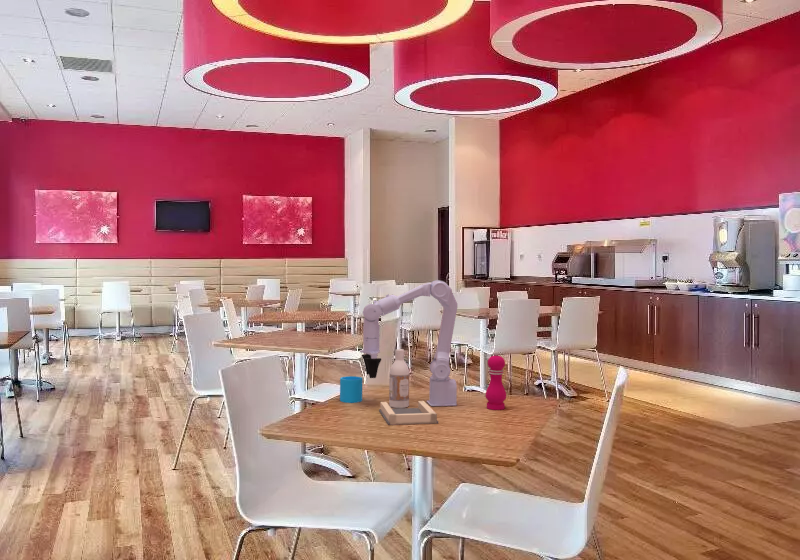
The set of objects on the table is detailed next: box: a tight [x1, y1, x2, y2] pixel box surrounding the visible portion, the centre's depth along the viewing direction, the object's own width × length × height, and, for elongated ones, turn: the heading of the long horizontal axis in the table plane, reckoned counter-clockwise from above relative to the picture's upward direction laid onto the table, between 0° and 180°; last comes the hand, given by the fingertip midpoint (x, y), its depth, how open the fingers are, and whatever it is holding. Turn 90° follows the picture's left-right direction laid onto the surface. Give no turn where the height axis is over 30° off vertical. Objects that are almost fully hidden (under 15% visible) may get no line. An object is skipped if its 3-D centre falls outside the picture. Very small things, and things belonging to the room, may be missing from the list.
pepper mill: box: [484, 350, 507, 411], centre depth 238 cm, size 7×7×20 cm
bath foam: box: [388, 348, 410, 409], centre depth 239 cm, size 7×7×20 cm
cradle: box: [378, 400, 439, 426], centre depth 224 cm, size 16×20×3 cm
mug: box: [339, 375, 363, 404], centre depth 250 cm, size 12×8×8 cm
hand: (371, 376), depth 242 cm, fingers open, 7 cm apart
